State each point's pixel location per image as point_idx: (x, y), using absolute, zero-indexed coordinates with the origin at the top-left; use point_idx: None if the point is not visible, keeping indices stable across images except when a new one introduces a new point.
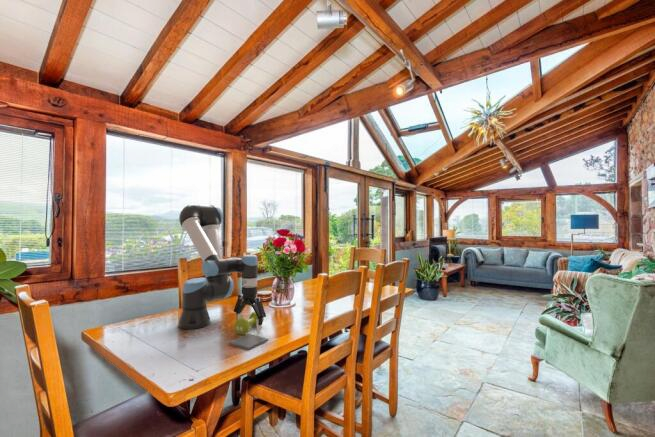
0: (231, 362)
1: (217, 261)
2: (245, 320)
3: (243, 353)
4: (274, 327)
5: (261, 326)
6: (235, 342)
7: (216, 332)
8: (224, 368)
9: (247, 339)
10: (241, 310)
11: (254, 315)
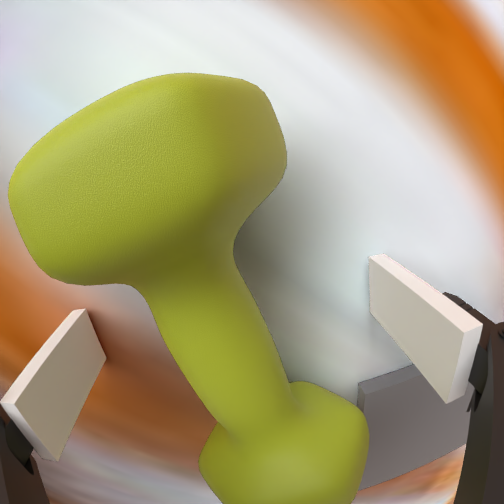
0: (457, 478)
1: None
2: (350, 495)
3: (463, 449)
4: (385, 68)
5: (407, 270)
6: (389, 475)
7: (119, 470)
8: (456, 489)
9: (424, 428)
10: (14, 464)
11: (159, 265)
